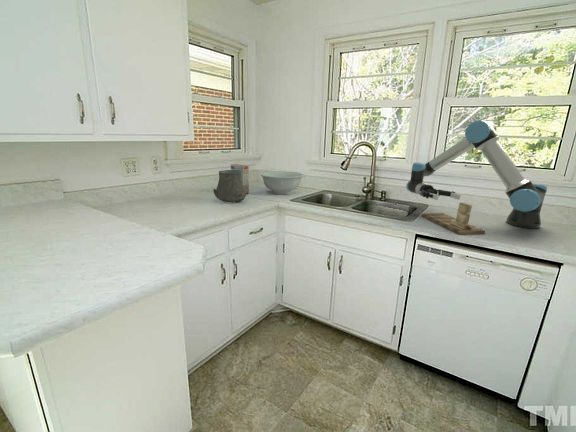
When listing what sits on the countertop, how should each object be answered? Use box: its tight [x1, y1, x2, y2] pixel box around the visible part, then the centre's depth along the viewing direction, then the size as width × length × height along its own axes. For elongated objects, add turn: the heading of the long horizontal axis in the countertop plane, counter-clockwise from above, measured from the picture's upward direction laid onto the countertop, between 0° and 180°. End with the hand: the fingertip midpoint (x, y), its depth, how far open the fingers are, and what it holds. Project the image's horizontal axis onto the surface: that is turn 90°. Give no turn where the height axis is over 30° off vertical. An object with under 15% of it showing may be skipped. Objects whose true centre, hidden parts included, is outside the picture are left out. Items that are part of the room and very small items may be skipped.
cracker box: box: [230, 163, 250, 195], centre depth 216 cm, size 14×6×21 cm, turn 49°
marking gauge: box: [451, 202, 474, 229], centre depth 148 cm, size 5×11×12 cm, turn 9°
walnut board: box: [420, 212, 486, 236], centre depth 158 cm, size 32×14×2 cm, turn 9°
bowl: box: [260, 170, 304, 195], centre depth 222 cm, size 32×32×15 cm
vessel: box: [212, 169, 247, 203], centre depth 190 cm, size 22×22×20 cm
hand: (448, 197), depth 159 cm, fingers open, 13 cm apart
